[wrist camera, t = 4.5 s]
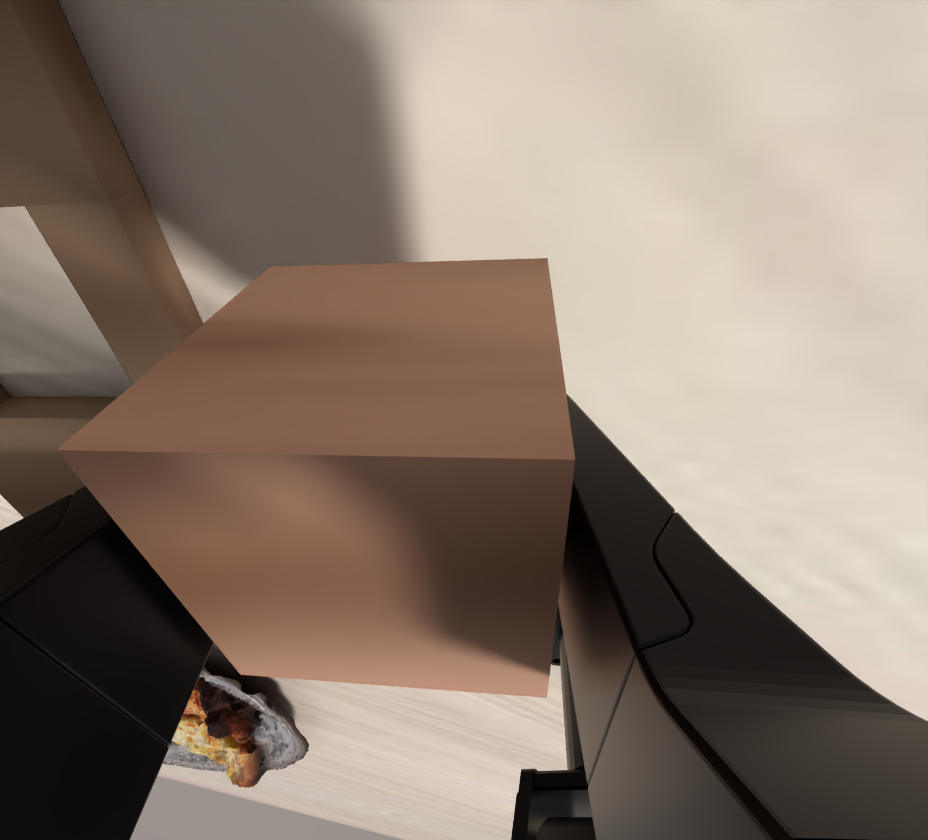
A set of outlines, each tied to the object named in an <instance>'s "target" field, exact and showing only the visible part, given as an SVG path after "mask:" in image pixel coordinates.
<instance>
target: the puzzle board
mask: <svg viewBox="0 0 928 840" xmlns="http://www.w3.org/2000/svg"><path fill="white" fill-rule="evenodd" d="M15 206H25V208H26V209H27V211H28V213H29V214H30V216H31V218H32V219H33V221H34V223H35V224H36V226H37V227H38V229H39V231H40V232H41V234H42V236H43V237H44V239H45V241H46V242H47V244H48V246H49V247H50V249H51V250H52V252H53V254H54V255H55V257H56V259H57V260H58V262H59V264H60V265H61V267H62V268H63V270H64V272H65V273H66V275H67V277H68V278H69V280H70V282H71V283H72V285H73V287H74V288H75V290H76V291H77V293H78V295H79V296H80V298H81V300H82V301H83V303H84V305H85V306H86V308H87V309H88V311H89V313H90V314H91V316H92V318H93V319H94V321H95V323H96V324H97V326H98V328H99V329H100V331H101V332H102V334H103V336H104V337H105V339H106V341H107V342H108V344H109V346H110V347H111V349H112V350H113V352H114V354H115V355H116V357H117V359H118V360H119V362H120V364H121V365H122V367H123V369H124V370H125V372H126V373H127V375H128V377H129V378H130V380H131V382H132V383H133V384H134V383H135V382H136V381H137V380H139V379H140V378H141V377H142V376H143V375H144V374H146V373H147V372H148V371H149V370H150V369H151V368H153V367H154V366H155V365H156V364H157V363H158V362H160V361H161V360H162V359H163V358H164V357H165V356H167V355H168V354H169V353H170V352H171V351H172V350H174V349H175V348H176V347H177V346H178V345H179V344H181V343H182V342H183V341H184V340H185V339H186V338H187V337H189V336H190V335H191V334H192V333H193V332H194V331H196V330H197V329H198V328H199V327H200V326H201V325H203V322H202V320H201V318H200V316H199V313H198V311H197V309H196V307H195V305H194V302H193V300H192V298H191V296H190V293H189V291H188V289H187V287H186V285H185V282H184V280H183V278H182V276H181V274H180V271H179V269H178V267H177V265H176V263H175V260H174V258H173V256H172V254H171V251H170V249H169V247H168V245H167V243H166V240H165V238H164V236H163V234H162V232H161V229H160V227H159V225H158V223H157V220H156V218H155V216H154V214H153V212H152V209H151V207H150V205H149V203H148V201H147V198H146V196H145V194H144V192H143V190H142V187H141V185H140V183H139V181H138V178H137V176H136V174H135V172H134V170H133V167H132V165H131V163H130V161H129V159H128V156H127V154H126V152H125V150H124V147H123V145H122V143H121V141H120V139H119V136H118V134H117V132H116V130H115V128H114V125H113V123H112V121H111V119H110V117H109V114H108V112H107V110H106V108H105V105H104V103H103V101H102V99H101V97H100V94H99V92H98V90H97V88H96V86H95V83H94V81H93V79H92V77H91V74H90V72H89V70H88V68H87V66H86V63H85V61H84V59H83V57H82V55H81V52H80V50H79V48H78V46H77V43H76V41H75V39H74V37H73V35H72V32H71V30H70V28H69V26H68V24H67V21H66V19H65V17H64V15H63V13H62V10H61V8H60V6H59V4H58V1H57V0H0V207H15ZM115 399H116V398H70V397H9V395H8V394H7V393H6V392H5V391H4V389H3V388H2V387H1V386H0V494H1V495H2V496H3V497H4V498H5V499H6V500H7V501H8V502H9V503H10V504H11V505H12V506H13V507H14V508H15V509H16V510H17V511H18V512H19V513H20V514H21V515H22V516H23V517H24V518H25V517H27V516H29V515H31V514H33V513H35V512H37V511H39V510H41V509H43V508H44V507H46V506H48V505H50V504H52V503H54V502H56V501H57V500H59V499H61V498H63V497H65V496H67V495H69V494H72V495H73V493H74V492H75V491H76V490H78V489H80V488H82V487H84V486H85V485H84V483H83V482H82V481H81V480H80V479H79V477H78V476H77V475H76V474H75V472H74V471H73V470H72V469H71V468H70V466H69V465H68V464H67V463H66V461H65V460H64V459H63V458H62V457H61V455H60V454H59V453H58V452H57V451H56V450H57V449H58V448H59V447H60V446H62V445H63V444H64V443H65V442H66V441H67V440H69V439H70V438H71V437H72V436H73V435H74V434H76V433H77V432H78V431H79V430H80V429H81V428H83V427H84V426H85V425H86V424H87V423H88V422H90V421H91V420H92V419H93V418H94V417H95V416H97V415H98V414H99V413H100V412H101V411H102V410H104V409H105V408H106V407H107V406H108V405H109V404H111V403H112V402H113V401H114V400H115Z"/></svg>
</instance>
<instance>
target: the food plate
mask: <svg viewBox="0 0 928 840" xmlns="http://www.w3.org/2000/svg"><path fill="white" fill-rule="evenodd" d="M241 689H242V684H240V683H239V682H238V681H237V680H234V679H231V678H225V677H222V676H212V675H211V674H210V672H208V671H207V670H206V668H204V667H203V669H202V672H201V674H200V676H199V679H198V681H197V683H196V686H195V688H194V690H193V693H192V695H191V697H190V700H189V702H188V704H187V707H186V709H185V711H184V714H183V716H182V718H181V721H180V723H179V725H178V728H177V730H176V732H175V735H174V737H173V739H172V742H171V743H170V744H169V745H168V746H169V749H168V752H167V754H166V756H165V759H164V761H163V763H162V764H167V762H170V763H169V764H168V765H174V764H178V765H177V766H183V767H186V768H192V769H200V770H211V771H222V772H227V774H226V776H227V777H229V779H231V781H232V783H233V785H238V786H239V787H242V786H243V787H252V786H253V787H254V786H255V785H256V784H257V783H258V781H259V780H260V778H261V776H262V775H263V774H264V773H265V772H266V771H267V770H271V769H272V770H273V769H277V770H278V769H279V768H280V769H283V768H286V767H287V766H288V765H291V764H294V763H295V762H296V761H298V760H301V759H302V758H304V756H305V754H306V752H307V751H308V747H309V744H308V742H307V740H306V738H305V737H304V736H303V735H301V733H299V732H300V731H299V730H298V729H297V728H296V726H295V722H294V720H293V718H292V717H288V716H286V715H285V712H284V711H282V710H280V709H278V708H275V701H277V699H278V698H276V699H273V701H274V702H273V706H272V709H270V708H269V707H268V706H266V705H267V701H268V699H267V698H266V697H265V696H264V695H263V694H262V693H258V694H255V695H249V694H245V693H244V692H242V691H241Z"/></svg>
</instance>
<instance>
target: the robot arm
mask: <svg viewBox="0 0 928 840" xmlns="http://www.w3.org/2000/svg"><path fill="white" fill-rule="evenodd" d="M566 396H567V403H568V411H569V418H570V425H571V432H572V439H573V446H574V454H575V467H574V475H573V483H572V492H571V500H570V508H569V516H568V525H567V533H566V541H565V550H564V558H563V566H562V575H561V583H560V591H559V599H558V608H557V616H556V624H555V633H554V641H553V649H552V658H551V664H552V665H558V666H561V680H562V694H563V709H564V723H565V738H566V753H567V767H568V770H561V771H537V770H536V769H522V770H521V776H520V784H519V792H518V793H517V796H516V804H515V813H514V821H513V829H512V838H511V840H928V721H926V720H924V719H922V718H920V717H918V716H916V715H914V714H912V713H910V712H909V711H907V710H905V709H903V708H902V707H900V706H898V705H896V704H895V703H893V702H892V701H890V700H889V699H887V698H886V697H884V696H882V695H881V694H879V693H878V692H876V691H875V690H874V689H872V688H871V687H870V686H868V685H867V684H865V683H864V682H863V681H861V680H860V679H859V678H857V677H856V676H855V675H854V674H853V673H851V672H850V671H849V670H848V669H847V668H845V667H844V666H843V665H842V664H840V663H839V662H838V661H837V660H836V659H835V658H834V657H832V656H831V655H830V654H829V653H828V652H827V651H826V650H825V649H823V648H822V647H821V646H820V645H819V644H818V643H817V642H815V641H814V640H813V639H812V638H811V637H810V636H809V635H808V634H806V633H805V632H804V631H803V630H802V629H801V628H800V627H798V626H797V625H796V624H795V623H794V622H793V621H792V620H791V619H789V618H788V617H787V616H786V615H785V614H784V613H783V612H781V611H780V610H779V609H778V608H777V607H776V606H775V605H774V604H772V603H771V602H770V601H769V600H768V599H767V598H766V597H764V596H763V595H762V594H761V593H760V592H759V591H758V590H757V589H755V588H754V587H753V586H752V585H751V584H750V583H749V582H748V581H747V580H745V579H744V578H743V577H742V576H741V575H740V574H739V573H738V572H737V571H736V570H735V569H734V568H732V567H731V566H730V565H729V564H728V563H727V562H726V561H725V560H724V559H723V558H722V557H720V556H719V555H718V554H717V553H716V552H715V551H714V550H713V548H712V547H711V546H710V545H709V544H708V543H707V542H706V541H705V540H704V539H703V538H702V537H701V536H700V535H699V534H698V533H697V532H696V531H695V530H694V529H693V528H692V527H691V526H690V525H689V524H688V523H687V522H686V521H685V520H684V519H683V517H682V516H681V515H680V514H679V513H675V510H674V508H673V507H672V506H671V505H670V504H669V503H668V502H667V501H666V500H665V498H664V497H663V496H662V495H661V494H660V493H659V492H658V491H657V490H656V489H655V488H654V487H653V486H652V485H651V483H650V482H649V481H648V480H647V479H646V478H645V477H644V476H643V475H642V474H641V473H640V472H639V471H638V470H637V468H636V467H635V466H634V465H633V464H632V463H631V462H630V461H629V460H628V459H627V458H626V457H625V456H624V455H623V453H622V452H621V451H620V450H619V449H618V448H617V447H616V446H615V445H614V444H613V443H612V442H611V441H610V440H609V438H608V437H607V436H606V435H605V434H604V433H603V432H602V431H601V430H600V429H599V428H598V427H597V426H596V425H595V423H594V422H593V421H592V420H591V419H590V418H589V417H588V416H587V415H586V414H585V413H584V412H583V411H582V410H581V408H580V407H579V406H578V405H577V404H576V403H575V402H574V401H573V400H572V399H571V398H570V397H569V396H568V395H567V394H566ZM213 644H214V642H213V641H212V639H211V638H210V637H209V636H208V634H207V633H206V632H205V631H204V630H203V628H202V627H201V626H200V625H199V623H198V622H197V621H196V620H195V619H194V617H193V616H192V615H191V614H190V613H189V611H188V610H187V609H186V608H185V606H184V605H183V604H182V603H181V602H180V600H179V599H178V598H177V597H176V595H175V594H174V593H173V592H172V591H171V589H170V588H169V587H168V586H167V584H166V583H165V582H164V581H163V580H162V578H161V577H160V576H159V575H158V574H157V572H156V571H155V570H154V569H153V567H152V566H151V565H150V564H149V563H148V561H147V560H146V559H145V558H144V556H143V555H142V554H141V553H140V552H139V550H138V549H137V548H136V547H135V546H134V544H133V543H132V542H131V541H130V539H129V538H128V537H127V536H126V535H125V533H124V532H123V531H122V530H121V528H120V527H119V526H118V525H117V524H116V522H115V521H114V520H113V519H112V518H111V516H110V515H109V514H108V513H107V511H106V510H105V509H104V508H103V507H102V505H101V504H100V503H99V502H98V500H97V499H96V498H95V497H94V496H93V494H92V493H91V492H90V491H89V489H88V488H87V487H86V486H84V487H82V488H80V489H78V490H76V491H75V492H74V493H73V495H72V494H69V495H67V496H65V497H63V498H61V499H59V500H57V501H56V502H54V503H52V504H50V505H48V506H46V507H44V508H43V509H41V510H39V511H37V512H35V513H33V514H31V515H29V516H27V517H25V518H23V519H21V520H20V521H18V522H16V523H14V524H12V525H10V526H8V527H6V528H4V529H2V530H0V840H130V838H131V836H132V833H133V831H134V829H135V826H136V824H137V822H138V819H139V817H140V815H141V812H142V810H143V808H144V805H145V803H146V800H147V798H148V796H149V793H150V791H151V789H152V787H153V784H154V782H155V780H156V777H157V775H158V773H159V770H160V768H161V766H162V763H163V761H164V759H165V756H166V754H167V752H168V749H169V746H168V745H169V744H170V743H171V742H172V739H173V737H174V735H175V732H176V730H177V728H178V725H179V723H180V721H181V718H182V716H183V714H184V711H185V709H186V707H187V704H188V702H189V700H190V697H191V695H192V693H193V690H194V688H195V686H196V683H197V681H198V679H199V676H200V674H201V672H202V669H203V667H204V665H205V662H206V660H207V658H208V655H209V653H210V651H211V648H212V646H213Z"/></svg>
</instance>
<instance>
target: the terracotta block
mask: <svg viewBox="0 0 928 840" xmlns="http://www.w3.org/2000/svg"><path fill="white" fill-rule="evenodd" d="M56 451H57V452H58V453H59V454H60V455H61V457H62V458H63V459H64V460H65V461H66V463H67V464H68V465H69V466H70V468H71V469H72V470H73V471H74V472H75V474H76V475H77V476H78V477H79V479H80V480H81V481H82V482H83V483H84V485H85V486H86V487H87V488H88V489H89V491H90V492H91V493H92V494H93V496H94V497H95V498H96V499H97V500H98V502H99V503H100V504H101V505H102V507H103V508H104V509H105V510H106V511H107V513H108V514H109V515H110V516H111V518H112V519H113V520H114V521H115V522H116V524H117V525H118V526H119V527H120V528H121V530H122V531H123V532H124V533H125V535H126V536H127V537H128V538H129V539H130V541H131V542H132V543H133V544H134V546H135V547H136V548H137V549H138V550H139V552H140V553H141V554H142V555H143V556H144V558H145V559H146V560H147V561H148V563H149V564H150V565H151V566H152V567H153V569H154V570H155V571H156V572H157V574H158V575H159V576H160V577H161V578H162V580H163V581H164V582H165V583H166V584H167V586H168V587H169V588H170V589H171V591H172V592H173V593H174V594H175V595H176V597H177V598H178V599H179V600H180V602H181V603H182V604H183V605H184V606H185V608H186V609H187V610H188V611H189V613H190V614H191V615H192V616H193V617H194V619H195V620H196V621H197V622H198V623H199V625H200V626H201V627H202V628H203V630H204V631H205V632H206V633H207V634H208V636H209V637H210V638H211V639H212V641H213V642H214V643H215V644H216V645H217V647H218V648H219V649H220V650H221V651H222V653H223V654H224V655H225V656H226V658H227V659H228V660H229V661H230V662H231V664H232V665H233V666H234V667H235V669H236V670H237V671H238V672H239V673H240V675H252V676H265V677H279V678H292V679H305V680H319V681H332V682H345V683H359V684H372V685H385V686H399V687H412V688H425V689H438V690H452V691H465V692H478V693H492V694H505V695H518V696H532V697H545V698H547V691H548V682H549V674H550V666H551V658H552V649H553V641H554V633H555V624H556V616H557V608H558V599H559V591H560V583H561V575H562V566H563V558H564V550H565V541H566V533H567V525H568V516H569V508H570V500H571V492H572V483H573V475H574V467H575V454H574V446H573V439H572V432H571V425H570V418H569V411H568V403H567V396H566V389H565V382H564V375H563V368H562V360H561V353H560V346H559V339H558V332H557V325H556V317H555V310H554V303H553V296H552V289H551V282H550V274H549V267H548V260H547V258H543V259H509V260H475V261H441V262H407V263H373V264H339V265H305V266H271V267H269V268H268V269H267V270H266V271H264V272H263V273H262V274H261V275H260V276H259V277H257V278H256V279H255V280H254V281H253V282H252V283H250V284H249V285H248V286H247V287H246V288H245V289H243V290H242V291H241V292H240V293H239V294H238V295H236V296H235V297H234V298H233V299H232V300H231V301H229V302H228V303H227V304H226V305H225V306H224V307H222V308H221V309H220V310H219V311H218V312H217V313H215V314H214V315H213V316H212V317H211V318H210V319H208V320H207V321H206V322H205V323H204V324H203V325H201V326H200V327H199V328H198V329H197V330H196V331H194V332H193V333H192V334H191V335H190V336H189V337H187V338H186V339H185V340H184V341H183V342H182V343H181V344H179V345H178V346H177V347H176V348H175V349H174V350H172V351H171V352H170V353H169V354H168V355H167V356H165V357H164V358H163V359H162V360H161V361H160V362H158V363H157V364H156V365H155V366H154V367H153V368H151V369H150V370H149V371H148V372H147V373H146V374H144V375H143V376H142V377H141V378H140V379H139V380H137V381H136V382H135V383H134V384H133V385H132V386H130V387H129V388H128V389H127V390H126V391H125V392H123V393H122V394H121V395H120V396H119V397H118V398H116V399H115V400H114V401H113V402H112V403H111V404H109V405H108V406H107V407H106V408H105V409H104V410H102V411H101V412H100V413H99V414H98V415H97V416H95V417H94V418H93V419H92V420H91V421H90V422H88V423H87V424H86V425H85V426H84V427H83V428H81V429H80V430H79V431H78V432H77V433H76V434H74V435H73V436H72V437H71V438H70V439H69V440H67V441H66V442H65V443H64V444H63V445H62V446H60V447H59V448H58V449H57V450H56Z"/></svg>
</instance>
